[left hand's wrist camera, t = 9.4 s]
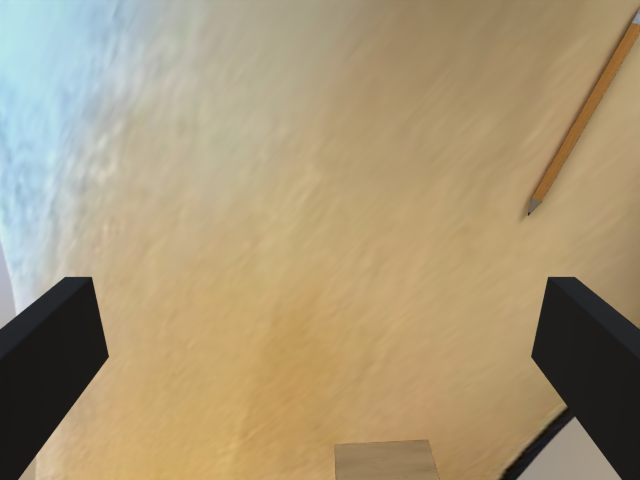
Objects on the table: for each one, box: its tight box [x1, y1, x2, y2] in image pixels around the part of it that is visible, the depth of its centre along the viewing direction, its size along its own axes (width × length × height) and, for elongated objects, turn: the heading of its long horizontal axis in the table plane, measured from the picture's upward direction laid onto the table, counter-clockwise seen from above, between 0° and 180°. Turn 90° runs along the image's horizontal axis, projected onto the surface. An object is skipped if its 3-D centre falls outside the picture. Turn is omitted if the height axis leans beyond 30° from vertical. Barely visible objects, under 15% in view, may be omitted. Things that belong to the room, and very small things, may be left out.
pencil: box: [527, 9, 640, 216], centre depth 37 cm, size 1×1×19 cm
